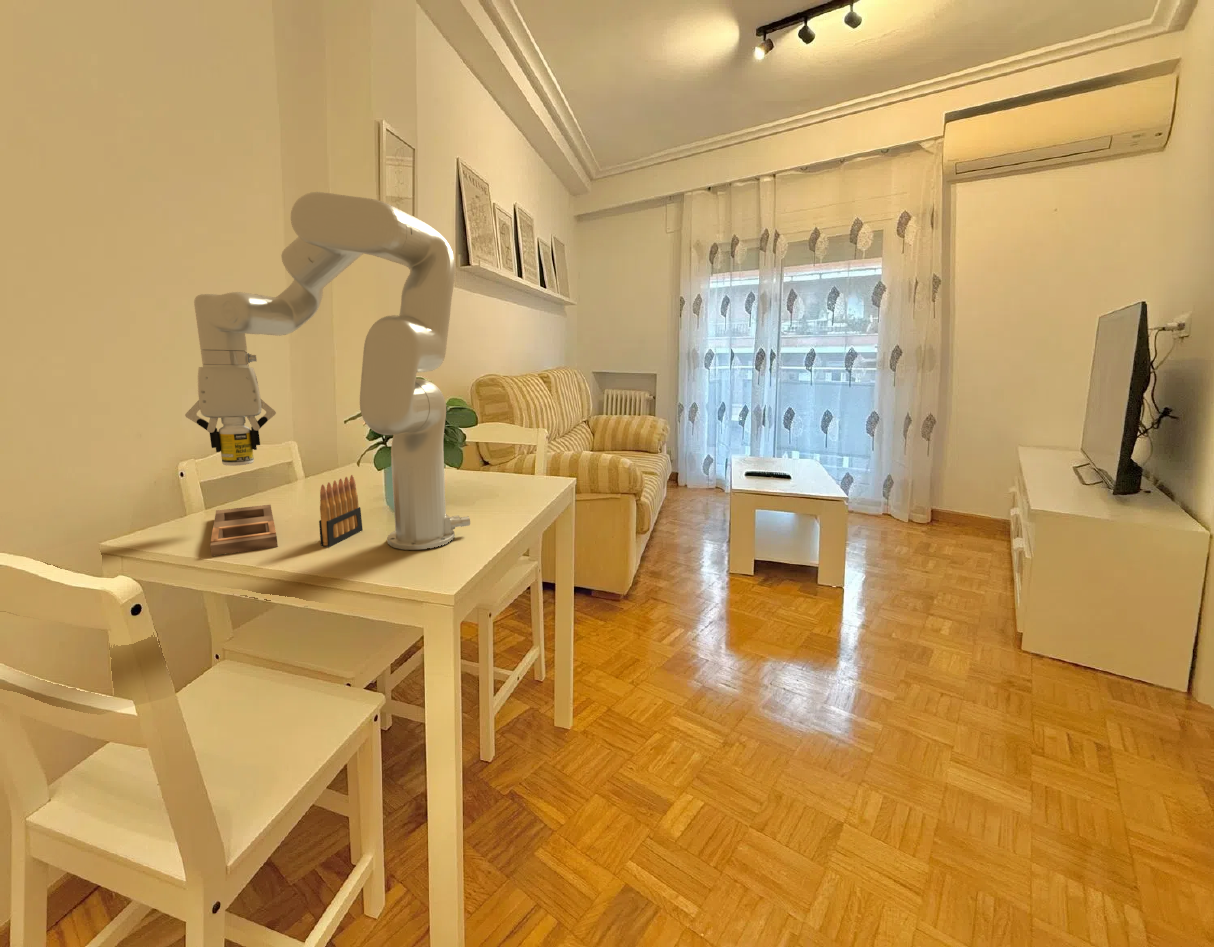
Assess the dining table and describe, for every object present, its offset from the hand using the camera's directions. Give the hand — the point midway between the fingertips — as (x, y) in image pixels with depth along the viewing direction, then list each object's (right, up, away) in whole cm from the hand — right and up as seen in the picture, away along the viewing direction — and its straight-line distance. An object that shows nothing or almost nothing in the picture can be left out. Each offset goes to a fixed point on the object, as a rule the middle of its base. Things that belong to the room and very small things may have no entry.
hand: (236, 449), depth 108 cm
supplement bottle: (0, -3, +1) cm, 3 cm away
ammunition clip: (+23, -18, -3) cm, 30 cm away
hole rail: (+3, -17, -1) cm, 17 cm away
